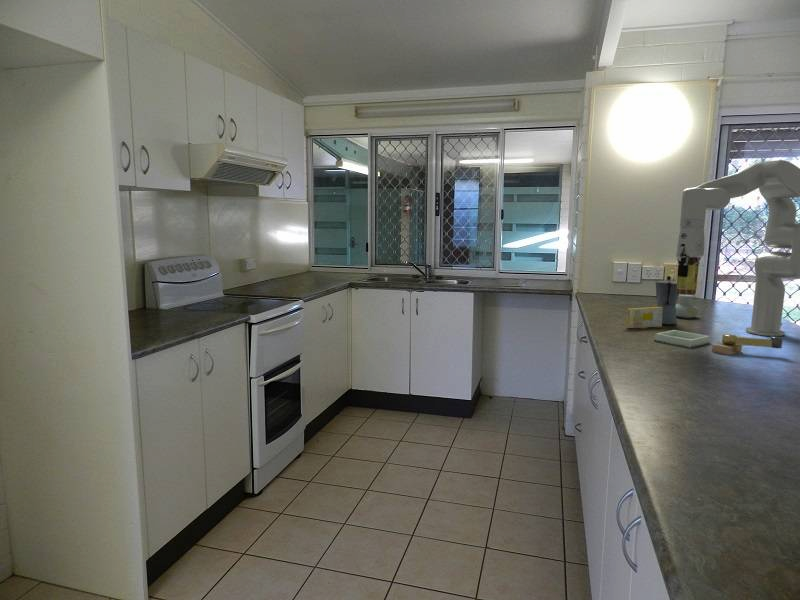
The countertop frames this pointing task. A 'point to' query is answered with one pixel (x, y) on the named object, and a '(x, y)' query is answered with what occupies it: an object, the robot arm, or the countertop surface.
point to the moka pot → (667, 299)
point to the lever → (752, 341)
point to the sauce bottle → (688, 278)
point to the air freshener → (686, 307)
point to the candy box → (644, 317)
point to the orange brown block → (726, 348)
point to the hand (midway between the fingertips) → (687, 275)
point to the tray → (682, 338)
